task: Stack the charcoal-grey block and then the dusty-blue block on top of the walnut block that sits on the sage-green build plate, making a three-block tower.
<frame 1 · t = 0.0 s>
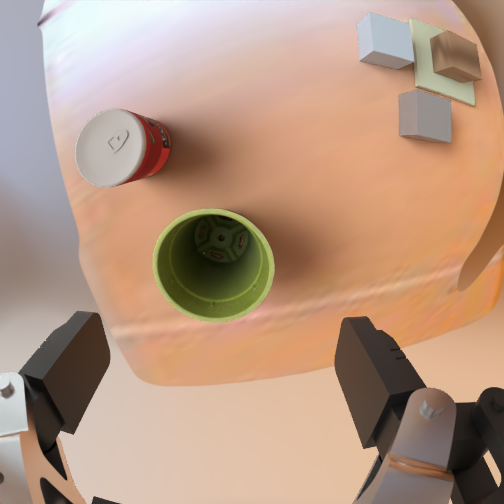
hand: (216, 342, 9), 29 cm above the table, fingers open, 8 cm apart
build plate: (442, 62, 30), on the table
blue block: (377, 47, 30), on the table
walnut block: (446, 60, 29), point 1 cm above the table, touching build plate
plant pot: (221, 237, 38), on the table
canned food: (144, 148, 34), on the table
grey block: (415, 118, 33), on the table
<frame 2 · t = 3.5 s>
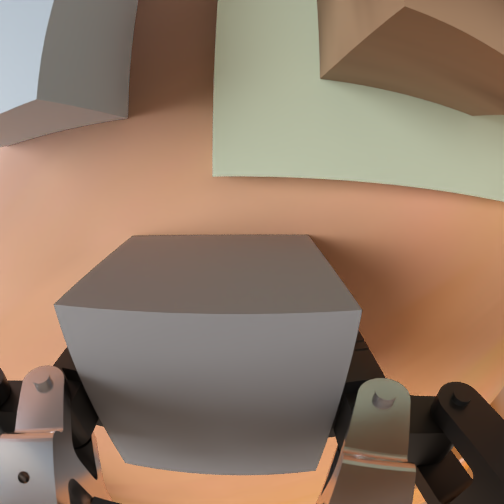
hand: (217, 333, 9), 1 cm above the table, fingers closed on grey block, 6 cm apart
build plate: (389, 27, 7), on the table
blue block: (64, 59, 7), on the table
walnut block: (401, 18, 6), point 1 cm above the table, touching build plate
grey block: (220, 313, 11), on the table, touching gripper
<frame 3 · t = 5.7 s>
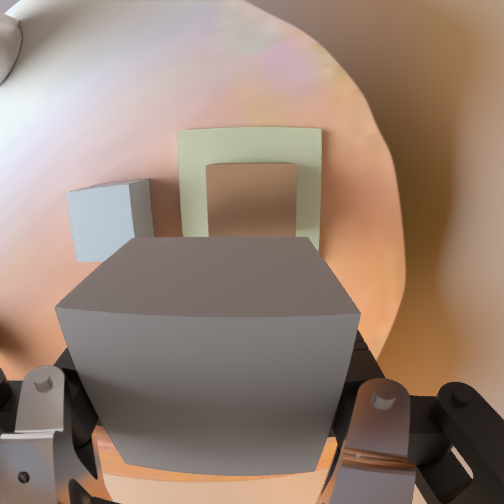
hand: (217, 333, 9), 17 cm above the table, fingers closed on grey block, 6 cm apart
build plate: (250, 196, 25), on the table
blue block: (123, 213, 26), on the table
walnut block: (250, 198, 24), point 1 cm above the table, touching build plate
grey block: (220, 315, 11), point 16 cm above the table, touching gripper
when the fingers open (8 cm above the table, at t = 8.2 s): grey block stays where it is, resting on walnut block.
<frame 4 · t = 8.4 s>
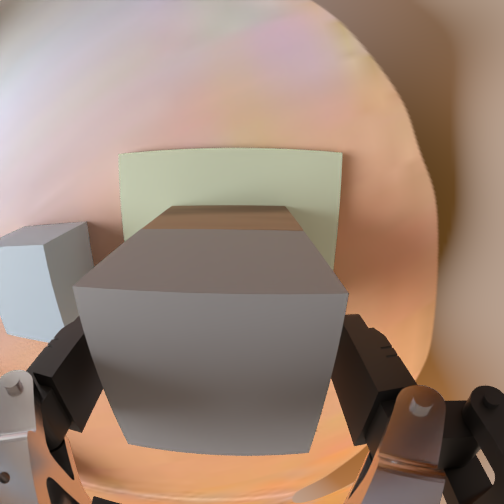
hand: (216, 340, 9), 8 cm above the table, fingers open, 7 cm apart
build plate: (229, 253, 17), on the table
blue block: (61, 265, 17), on the table
walnut block: (228, 259, 16), point 1 cm above the table, touching build plate, grey block
grey block: (221, 303, 11), point 6 cm above the table, touching walnut block
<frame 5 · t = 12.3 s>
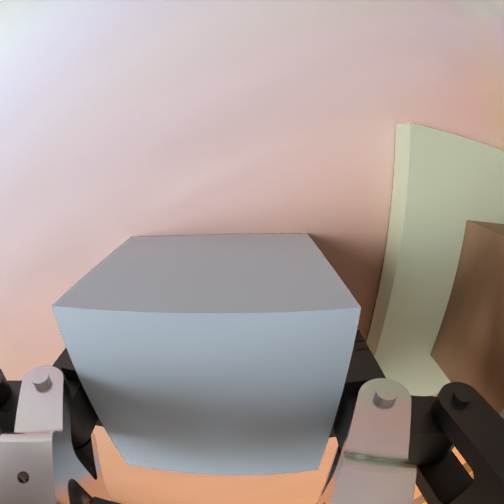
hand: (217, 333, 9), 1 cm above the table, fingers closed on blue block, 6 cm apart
build plate: (480, 280, 11), on the table
blue block: (220, 313, 11), on the table, touching gripper
walnut block: (493, 289, 10), point 1 cm above the table, touching build plate, grey block
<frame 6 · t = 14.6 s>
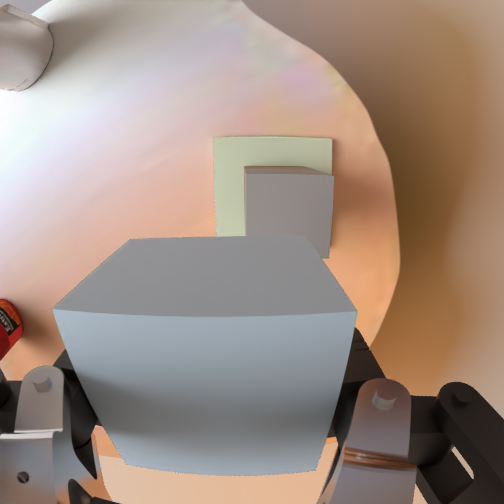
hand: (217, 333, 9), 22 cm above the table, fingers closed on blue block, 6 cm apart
build plate: (273, 193, 30), on the table
blue block: (219, 315, 11), point 21 cm above the table, touching gripper
canned food: (9, 317, 35), on the table
grey block: (280, 204, 25), point 6 cm above the table, touching walnut block
when the fingers open (13 cm above the table, at t = 17.0 s): blue block stays where it is, resting on grey block.
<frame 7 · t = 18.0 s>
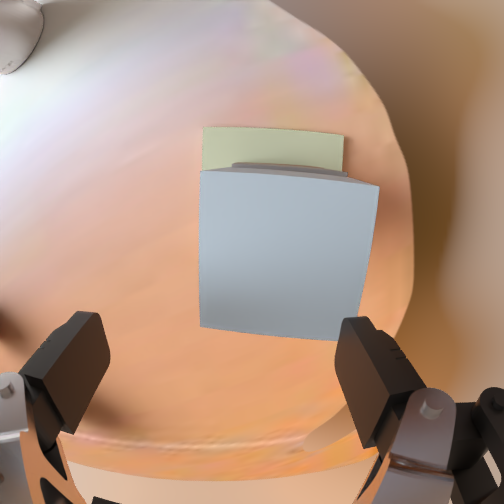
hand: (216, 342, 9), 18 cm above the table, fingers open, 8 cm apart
build plate: (271, 197, 26), on the table
blue block: (285, 230, 15), point 11 cm above the table, tilted 8°, touching grey block
grey block: (278, 208, 20), point 6 cm above the table, touching blue block, walnut block
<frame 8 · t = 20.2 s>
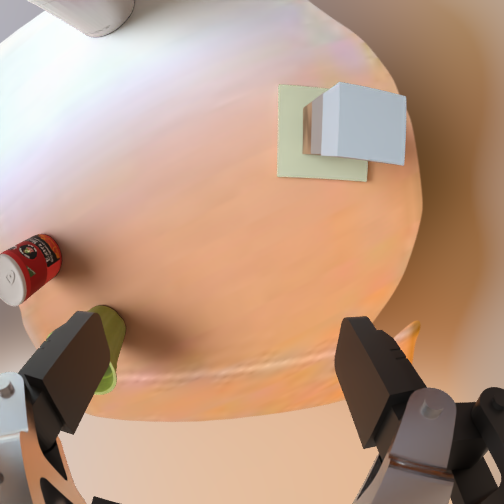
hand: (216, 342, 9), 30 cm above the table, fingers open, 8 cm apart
build plate: (323, 133, 35), on the table
blue block: (352, 128, 24), point 11 cm above the table, touching grey block
walnut block: (325, 132, 34), point 1 cm above the table, touching build plate, grey block
plant pot: (107, 323, 43), on the table
canned food: (46, 254, 39), on the table
grey block: (337, 129, 29), point 6 cm above the table, touching blue block, walnut block
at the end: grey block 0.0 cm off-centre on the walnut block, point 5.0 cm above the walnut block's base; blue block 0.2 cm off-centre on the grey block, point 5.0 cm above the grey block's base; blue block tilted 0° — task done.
